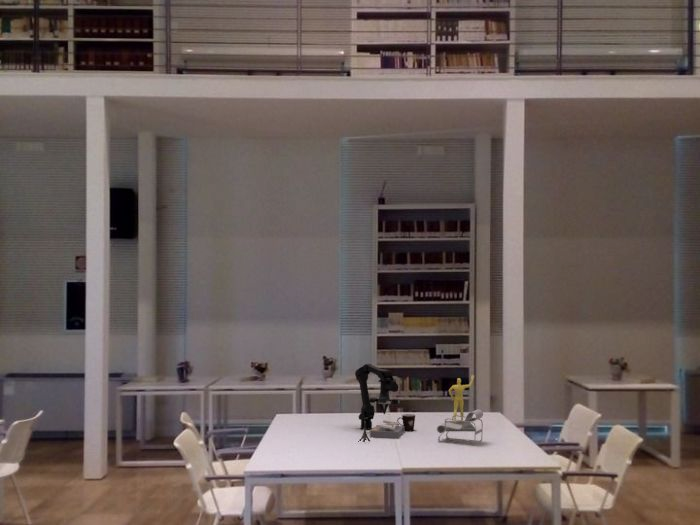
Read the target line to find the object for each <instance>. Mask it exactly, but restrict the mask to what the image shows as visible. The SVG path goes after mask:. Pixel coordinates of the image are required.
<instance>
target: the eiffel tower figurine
mask: <svg viewBox="0 0 700 525" xmlns="http://www.w3.org/2000/svg"><path fill="white" fill-rule="evenodd" d="M365 423H366V422H364V429H363V433H362V436H361V437H360V438H361V439H359V441H361V440H363V443H366V442H365V440H368V441H369V442H371V440H370V437H369V436H368V434H367V429H366V425H365ZM359 441H358V442H359Z"/></svg>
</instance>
